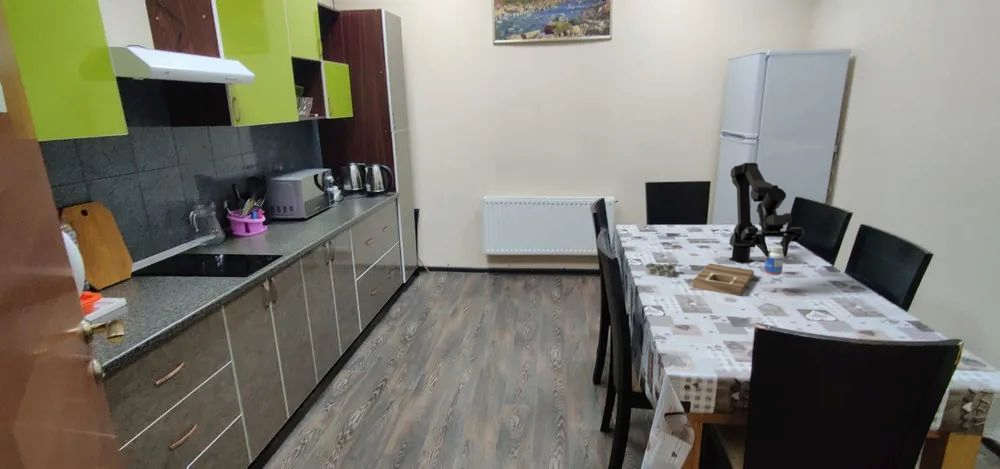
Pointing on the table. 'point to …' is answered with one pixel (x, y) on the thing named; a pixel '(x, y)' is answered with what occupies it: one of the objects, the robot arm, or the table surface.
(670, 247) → the table surface
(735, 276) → the socket board
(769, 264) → the pill bottle
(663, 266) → the egg carton
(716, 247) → the table surface
